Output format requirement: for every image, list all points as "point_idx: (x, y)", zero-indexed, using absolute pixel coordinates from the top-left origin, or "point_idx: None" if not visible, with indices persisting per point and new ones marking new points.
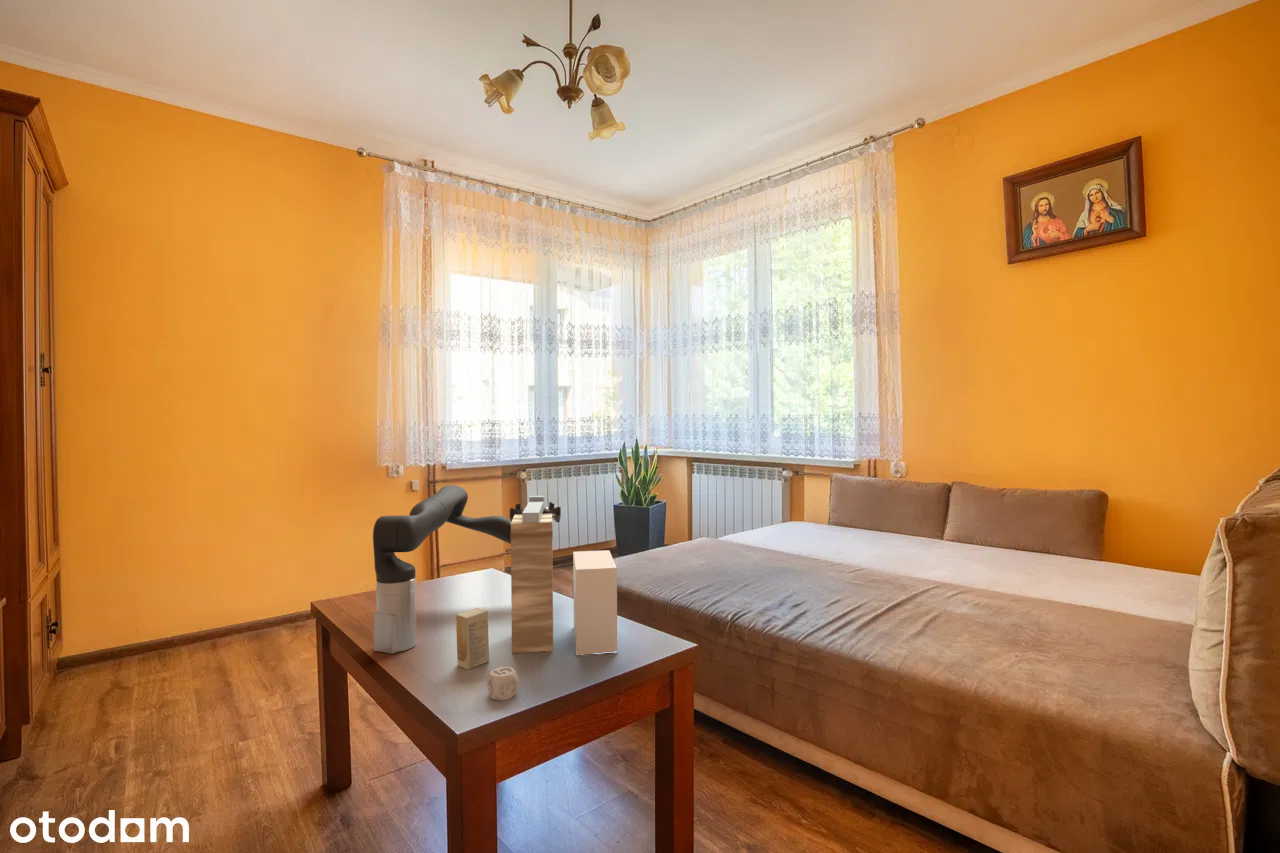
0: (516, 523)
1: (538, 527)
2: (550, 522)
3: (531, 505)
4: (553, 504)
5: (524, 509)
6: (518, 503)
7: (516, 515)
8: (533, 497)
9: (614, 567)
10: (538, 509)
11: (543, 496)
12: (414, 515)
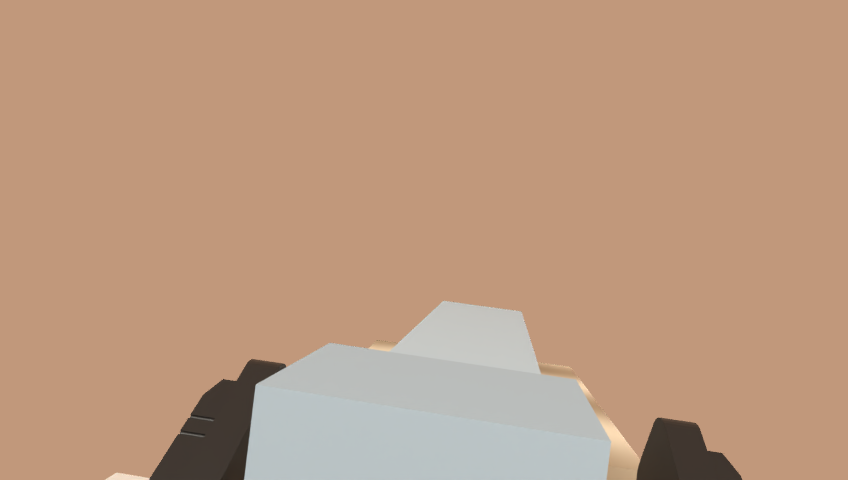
0: (543, 363)
1: None
2: (384, 341)
3: (493, 351)
4: (225, 390)
5: (525, 325)
6: (679, 424)
7: (614, 449)
8: (499, 375)
9: (119, 477)
10: (441, 313)
11: (318, 353)
12: None
